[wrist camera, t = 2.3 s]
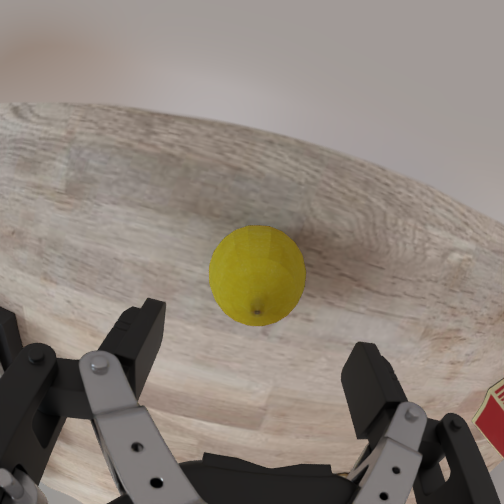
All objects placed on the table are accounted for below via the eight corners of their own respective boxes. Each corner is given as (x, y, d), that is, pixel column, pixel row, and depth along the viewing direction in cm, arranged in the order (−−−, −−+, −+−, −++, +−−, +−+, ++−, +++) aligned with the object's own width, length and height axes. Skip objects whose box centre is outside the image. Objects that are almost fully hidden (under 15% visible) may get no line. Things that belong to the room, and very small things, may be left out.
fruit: (300, 212, 20) (325, 258, 13) (293, 286, 22) (308, 358, 15) (217, 209, 20) (194, 253, 13) (217, 283, 22) (200, 354, 15)
